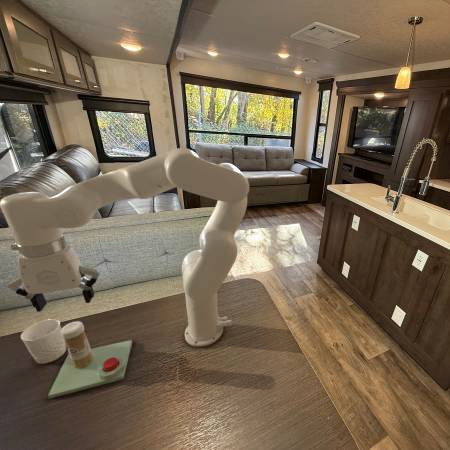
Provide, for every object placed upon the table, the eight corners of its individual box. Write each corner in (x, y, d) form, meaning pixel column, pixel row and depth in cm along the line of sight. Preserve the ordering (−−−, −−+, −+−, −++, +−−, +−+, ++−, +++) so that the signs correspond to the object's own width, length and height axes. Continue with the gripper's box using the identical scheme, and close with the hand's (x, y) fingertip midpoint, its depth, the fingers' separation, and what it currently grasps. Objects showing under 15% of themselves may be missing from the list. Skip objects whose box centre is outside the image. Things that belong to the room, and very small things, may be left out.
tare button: (119, 360, 72) (118, 355, 71) (116, 369, 69) (115, 365, 68) (106, 363, 70) (104, 359, 70) (102, 373, 68) (101, 369, 67)
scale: (132, 342, 80) (130, 335, 79) (123, 379, 69) (121, 372, 68) (69, 356, 74) (66, 349, 73) (49, 399, 63) (45, 391, 62)
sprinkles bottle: (71, 371, 69) (57, 335, 64) (76, 357, 73) (63, 323, 67) (91, 365, 71) (79, 330, 66) (96, 352, 75) (84, 319, 69)
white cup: (47, 369, 70) (35, 343, 66) (25, 362, 71) (12, 336, 67) (76, 346, 77) (67, 322, 73) (55, 340, 78) (45, 316, 75)
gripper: (-21, 259, 51) (13, 322, 58) (84, 248, 57) (103, 306, 64) (2, 243, 57) (30, 301, 64) (94, 234, 64) (110, 288, 70)
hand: (66, 303), depth 64 cm, fingers open, 9 cm apart
